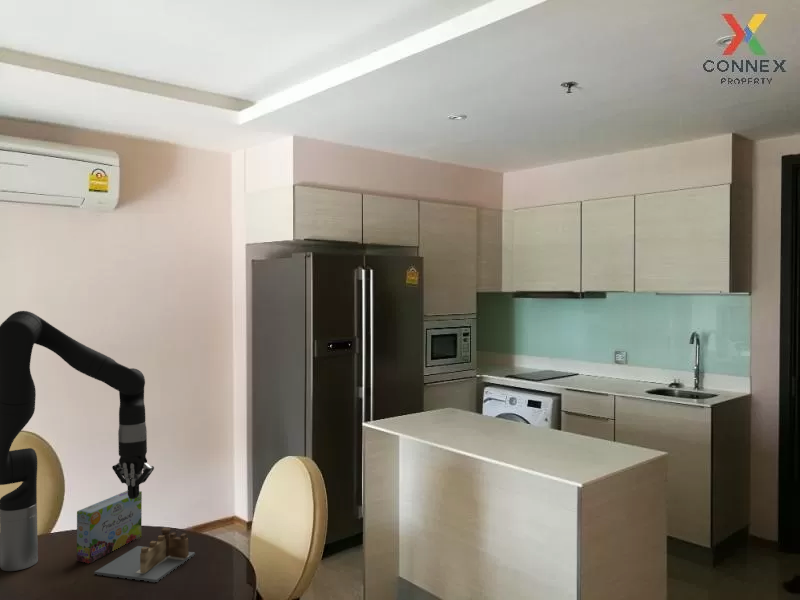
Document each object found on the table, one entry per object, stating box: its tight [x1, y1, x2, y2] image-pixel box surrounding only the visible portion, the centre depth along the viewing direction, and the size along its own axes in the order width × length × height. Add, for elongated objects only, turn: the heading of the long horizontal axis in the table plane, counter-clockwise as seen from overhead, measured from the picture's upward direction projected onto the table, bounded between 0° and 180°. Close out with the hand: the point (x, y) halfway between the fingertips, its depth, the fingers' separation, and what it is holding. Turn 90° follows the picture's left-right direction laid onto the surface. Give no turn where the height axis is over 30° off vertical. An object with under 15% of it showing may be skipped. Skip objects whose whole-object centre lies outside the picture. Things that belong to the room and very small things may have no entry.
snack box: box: [76, 489, 143, 564], centre depth 191 cm, size 21×6×15 cm, turn 162°
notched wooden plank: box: [160, 527, 190, 558], centre depth 183 cm, size 8×3×9 cm, turn 75°
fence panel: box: [140, 534, 166, 573], centre depth 177 cm, size 11×2×6 cm, turn 170°
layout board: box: [94, 545, 196, 583], centre depth 180 cm, size 20×18×1 cm
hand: (133, 497), depth 180 cm, fingers closed
